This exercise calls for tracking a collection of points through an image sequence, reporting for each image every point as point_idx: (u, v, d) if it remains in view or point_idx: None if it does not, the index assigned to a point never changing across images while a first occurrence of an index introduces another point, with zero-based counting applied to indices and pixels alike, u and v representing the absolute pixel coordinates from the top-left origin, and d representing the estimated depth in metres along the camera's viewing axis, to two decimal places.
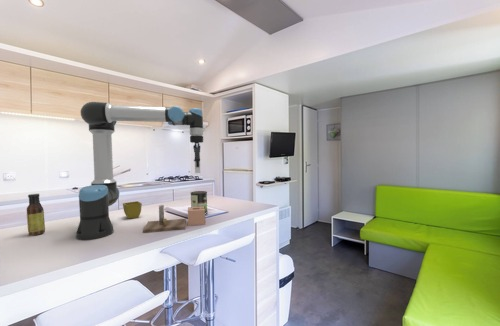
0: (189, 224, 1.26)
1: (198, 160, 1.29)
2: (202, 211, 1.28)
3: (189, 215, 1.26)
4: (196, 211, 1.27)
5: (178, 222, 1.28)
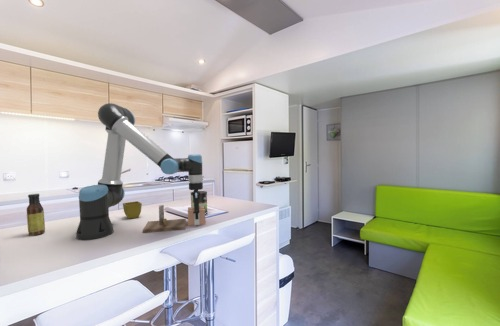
0: (189, 224, 1.26)
1: (197, 212, 1.24)
2: (202, 211, 1.28)
3: (189, 215, 1.26)
4: None
5: (178, 222, 1.28)
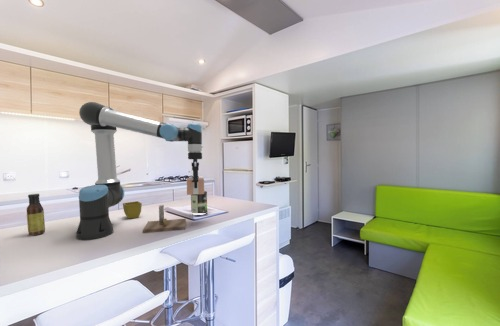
0: (188, 193, 1.25)
1: (196, 181, 1.24)
2: (201, 180, 1.27)
3: (188, 184, 1.25)
4: None
5: (178, 222, 1.28)
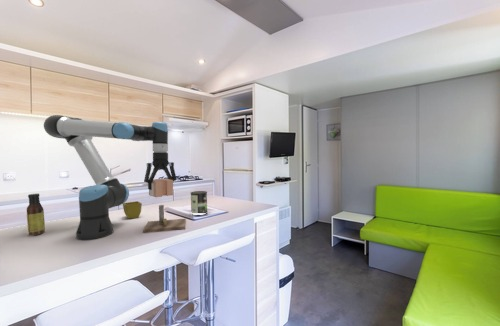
0: (149, 193, 1.24)
1: (147, 182, 1.19)
2: (154, 182, 1.19)
3: None
4: (152, 181, 1.21)
5: (178, 222, 1.28)
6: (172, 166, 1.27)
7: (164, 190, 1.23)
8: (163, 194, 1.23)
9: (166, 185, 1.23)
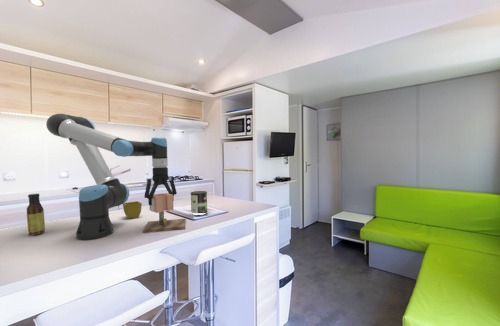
0: (150, 208, 1.24)
1: None
2: (155, 198, 1.19)
3: None
4: (152, 197, 1.21)
5: (178, 222, 1.28)
6: (172, 180, 1.27)
7: (165, 205, 1.23)
8: (163, 209, 1.23)
9: (166, 200, 1.23)
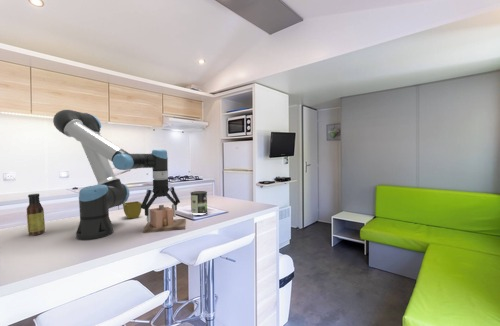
0: (150, 223, 1.24)
1: (143, 208, 1.18)
2: (155, 213, 1.19)
3: (150, 214, 1.24)
4: (152, 211, 1.21)
5: (178, 222, 1.28)
6: (173, 191, 1.28)
7: None
8: None
9: (166, 214, 1.23)
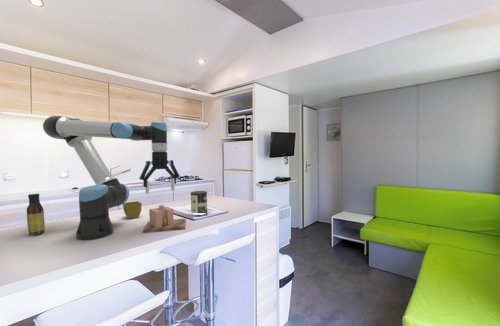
0: (150, 223, 1.24)
1: (142, 179, 1.17)
2: (155, 213, 1.19)
3: (150, 214, 1.24)
4: (152, 211, 1.21)
5: (178, 222, 1.28)
6: (172, 164, 1.27)
7: None
8: None
9: (166, 214, 1.23)
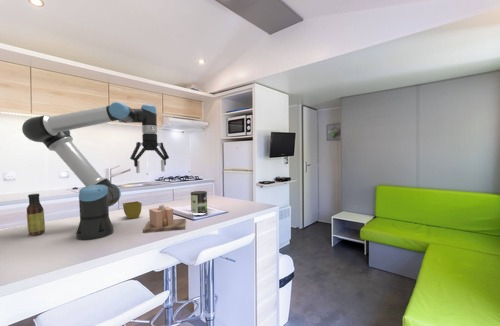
0: (150, 223, 1.24)
1: (133, 159, 1.24)
2: (155, 213, 1.19)
3: (150, 214, 1.24)
4: (152, 211, 1.21)
5: (178, 222, 1.28)
6: (162, 146, 1.34)
7: None
8: None
9: (166, 214, 1.23)
